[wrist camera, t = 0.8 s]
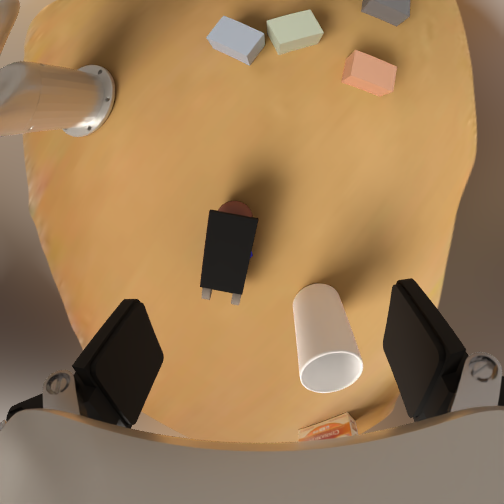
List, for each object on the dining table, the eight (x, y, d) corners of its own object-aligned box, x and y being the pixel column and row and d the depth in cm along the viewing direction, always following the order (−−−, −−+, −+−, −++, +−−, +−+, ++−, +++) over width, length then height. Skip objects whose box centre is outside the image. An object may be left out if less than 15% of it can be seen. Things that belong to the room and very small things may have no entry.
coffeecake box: (347, 411, 59) (358, 474, 41) (356, 420, 61) (367, 479, 43) (297, 429, 63) (298, 490, 45) (308, 437, 65) (311, 494, 47)
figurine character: (246, 285, 47) (262, 200, 39) (241, 315, 40) (259, 222, 32) (207, 277, 46) (216, 192, 39) (196, 307, 40) (203, 212, 32)
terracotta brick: (340, 82, 31) (350, 75, 27) (345, 59, 30) (355, 49, 25) (379, 96, 32) (392, 92, 27) (383, 73, 30) (397, 66, 25)
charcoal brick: (361, 11, 26) (371, -1, 21) (363, -5, 24) (373, -18, 20) (396, 26, 26) (409, 16, 21) (397, 9, 24) (410, -2, 20)
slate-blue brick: (213, 48, 30) (206, 37, 26) (228, 28, 29) (223, 15, 24) (249, 65, 31) (246, 56, 27) (264, 45, 30) (264, 33, 25)
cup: (287, 291, 45) (292, 361, 30) (335, 277, 43) (360, 343, 29) (299, 327, 48) (306, 398, 33) (343, 315, 46) (365, 383, 32)
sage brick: (278, 55, 30) (279, 44, 26) (267, 33, 29) (266, 20, 24) (317, 44, 29) (323, 32, 25) (305, 23, 28) (310, 9, 23)
